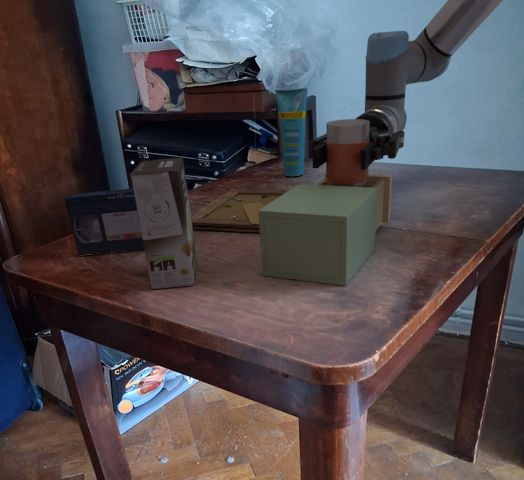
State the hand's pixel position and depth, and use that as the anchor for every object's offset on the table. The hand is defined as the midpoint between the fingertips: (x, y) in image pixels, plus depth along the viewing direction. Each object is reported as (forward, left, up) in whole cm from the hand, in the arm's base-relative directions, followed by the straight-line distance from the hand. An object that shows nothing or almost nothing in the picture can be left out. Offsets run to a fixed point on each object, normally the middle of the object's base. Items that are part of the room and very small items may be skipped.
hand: (338, 159), depth 80 cm
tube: (+26, -44, -14) cm, 53 cm away
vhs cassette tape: (+33, +11, -14) cm, 37 cm away
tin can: (0, -5, -6) cm, 8 cm away
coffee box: (+19, +19, -14) cm, 30 cm away
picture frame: (+22, -13, -14) cm, 29 cm away
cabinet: (0, +8, -13) cm, 15 cm away
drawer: (0, -7, -12) cm, 14 cm away
